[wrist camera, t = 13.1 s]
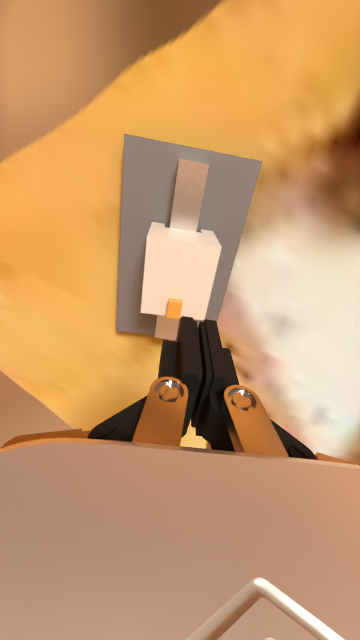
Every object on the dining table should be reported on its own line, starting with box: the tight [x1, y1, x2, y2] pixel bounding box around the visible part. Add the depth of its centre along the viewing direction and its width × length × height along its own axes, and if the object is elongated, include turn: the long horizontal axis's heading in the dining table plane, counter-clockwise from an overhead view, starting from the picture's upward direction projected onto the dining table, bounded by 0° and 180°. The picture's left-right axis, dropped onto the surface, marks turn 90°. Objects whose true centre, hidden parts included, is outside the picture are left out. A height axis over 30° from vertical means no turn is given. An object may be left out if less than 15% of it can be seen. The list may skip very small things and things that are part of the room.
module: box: [141, 222, 222, 320], centre depth 24 cm, size 6×7×6 cm
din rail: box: [155, 159, 209, 340], centre depth 26 cm, size 2×18×2 cm, turn 171°
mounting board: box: [116, 134, 262, 338], centre depth 28 cm, size 12×20×2 cm, turn 171°
